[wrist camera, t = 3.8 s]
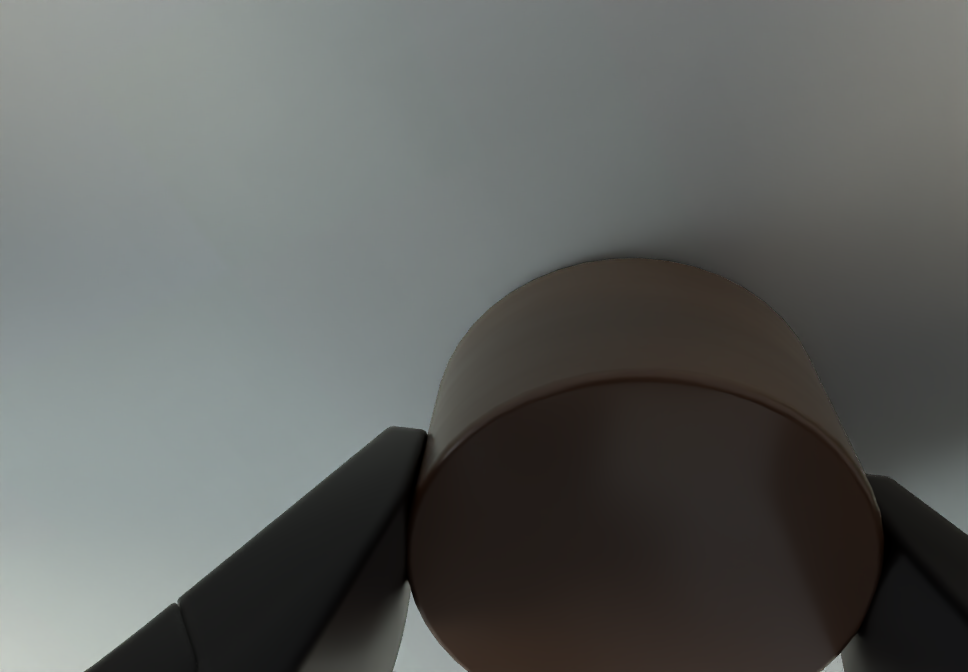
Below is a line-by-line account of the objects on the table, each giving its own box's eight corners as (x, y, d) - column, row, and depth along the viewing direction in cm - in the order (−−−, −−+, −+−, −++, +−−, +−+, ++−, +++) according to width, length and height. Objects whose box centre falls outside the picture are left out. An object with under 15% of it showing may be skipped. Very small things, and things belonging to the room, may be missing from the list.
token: (666, 617, 11) (688, 786, 9) (374, 469, 11) (325, 617, 9) (905, 380, 9) (1000, 529, 7) (565, 178, 9) (563, 278, 7)
